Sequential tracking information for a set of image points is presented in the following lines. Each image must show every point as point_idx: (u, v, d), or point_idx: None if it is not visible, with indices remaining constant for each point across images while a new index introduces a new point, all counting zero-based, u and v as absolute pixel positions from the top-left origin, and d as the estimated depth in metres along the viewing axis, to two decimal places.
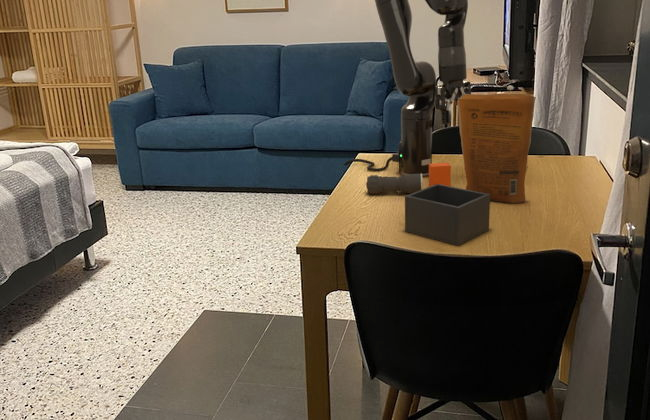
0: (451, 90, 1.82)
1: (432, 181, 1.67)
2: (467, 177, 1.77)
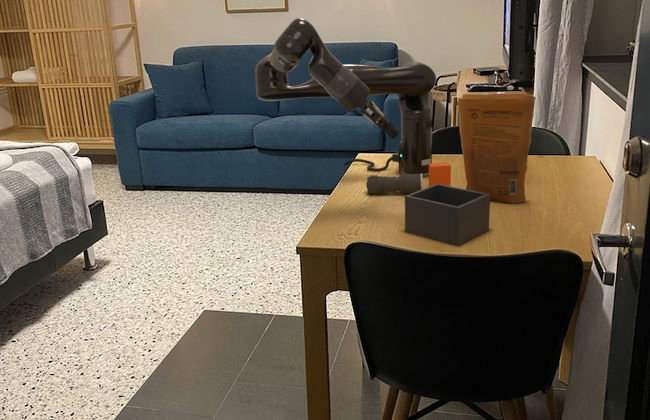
0: (371, 106, 1.59)
1: (432, 181, 1.67)
2: (467, 177, 1.77)
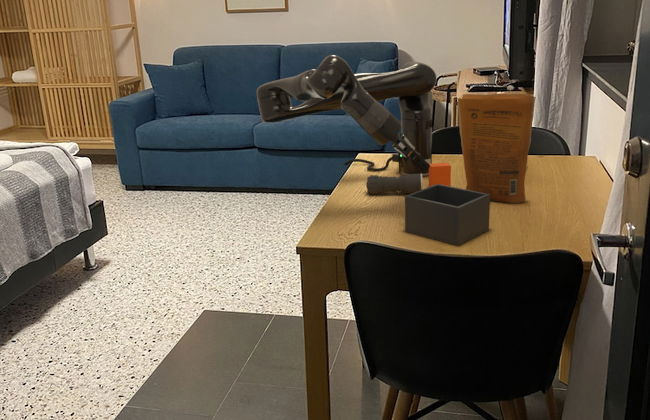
0: (403, 140, 1.62)
1: (432, 181, 1.67)
2: (467, 177, 1.77)
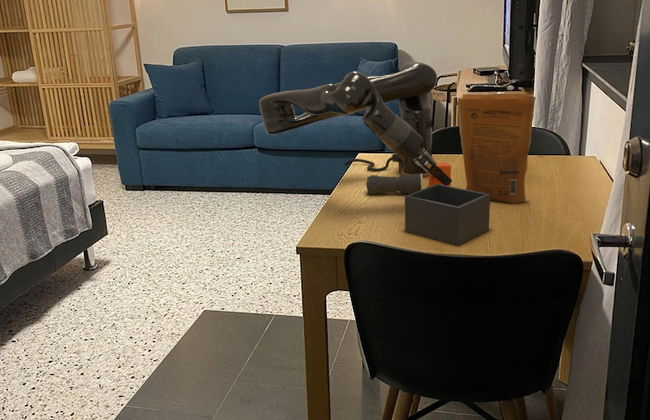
0: (425, 155, 1.63)
1: (432, 181, 1.67)
2: (467, 177, 1.77)
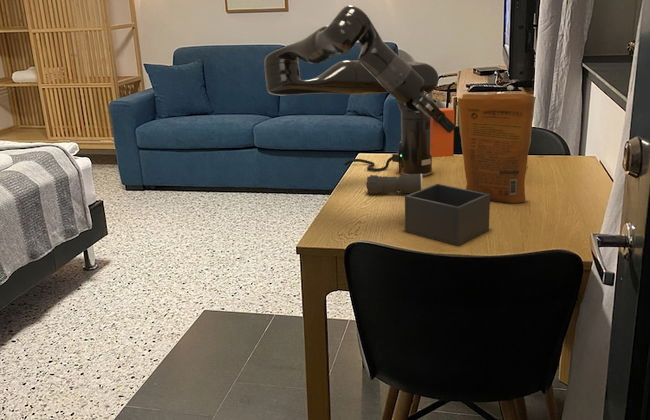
0: (426, 97, 1.51)
1: (434, 127, 1.54)
2: (467, 177, 1.77)
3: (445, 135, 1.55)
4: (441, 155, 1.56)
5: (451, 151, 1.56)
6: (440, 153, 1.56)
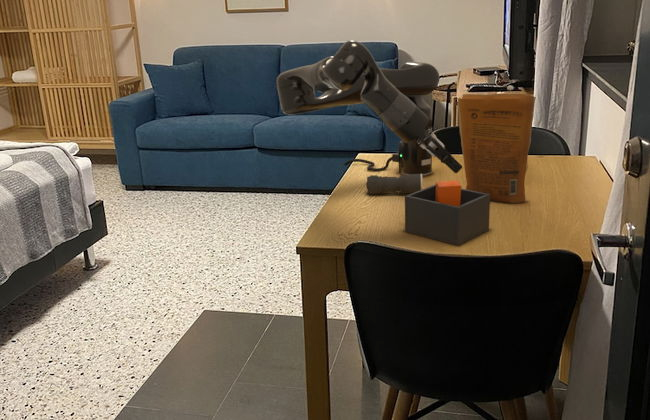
0: (431, 137, 1.43)
1: (439, 202, 1.48)
2: (467, 177, 1.77)
3: None
4: None
5: None
6: None
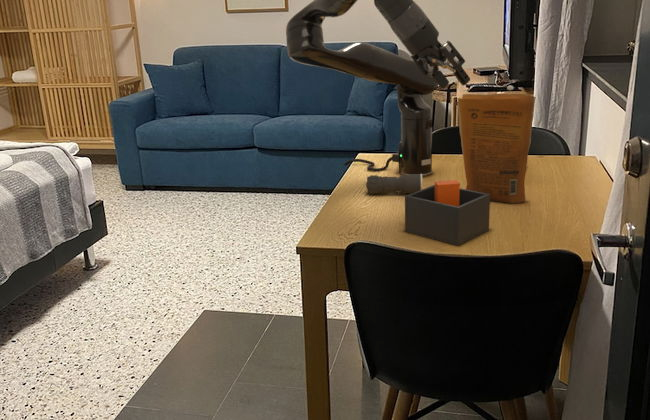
0: None
1: (439, 201, 1.49)
2: (467, 177, 1.77)
3: None
4: None
5: None
6: None
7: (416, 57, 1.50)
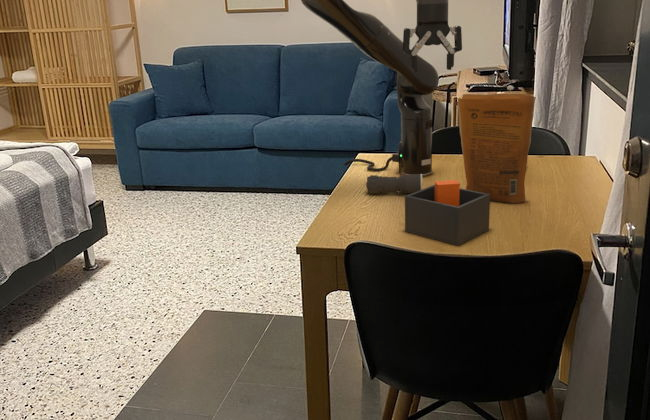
0: None
1: (439, 201, 1.49)
2: (467, 177, 1.77)
3: None
4: None
5: None
6: None
7: (409, 32, 1.60)
